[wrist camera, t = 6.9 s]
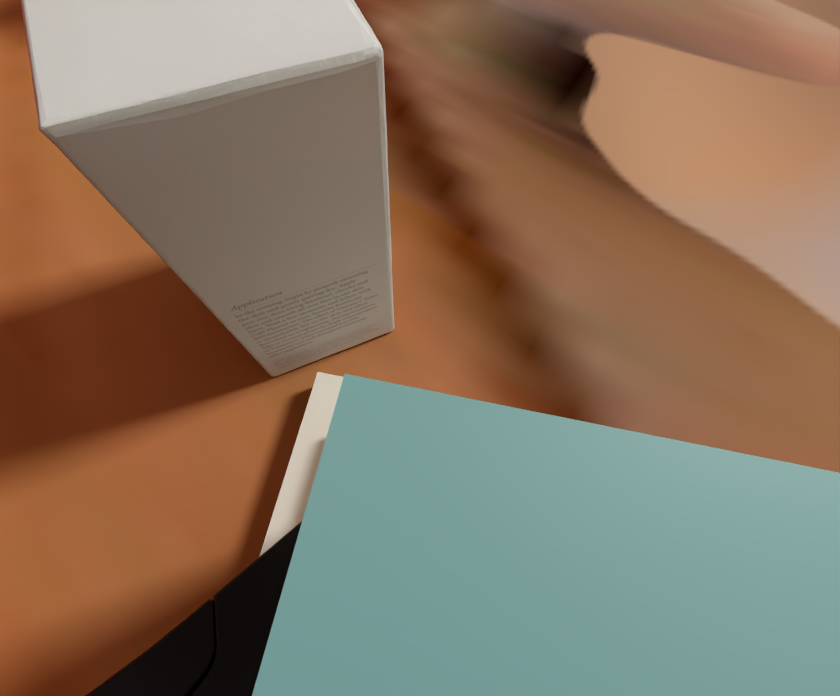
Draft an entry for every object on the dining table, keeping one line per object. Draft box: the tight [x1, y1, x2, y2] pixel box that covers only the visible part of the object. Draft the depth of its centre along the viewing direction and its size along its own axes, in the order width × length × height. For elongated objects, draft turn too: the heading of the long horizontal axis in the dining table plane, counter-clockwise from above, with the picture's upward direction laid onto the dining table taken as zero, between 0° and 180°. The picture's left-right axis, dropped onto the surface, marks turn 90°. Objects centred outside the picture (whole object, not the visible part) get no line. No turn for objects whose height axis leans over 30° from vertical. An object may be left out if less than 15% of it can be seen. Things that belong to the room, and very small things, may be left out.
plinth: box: [259, 372, 344, 557], centre depth 14 cm, size 12×12×3 cm
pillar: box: [252, 374, 840, 696], centre depth 8 cm, size 4×4×12 cm
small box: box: [21, 0, 394, 377], centre depth 14 cm, size 8×6×13 cm
